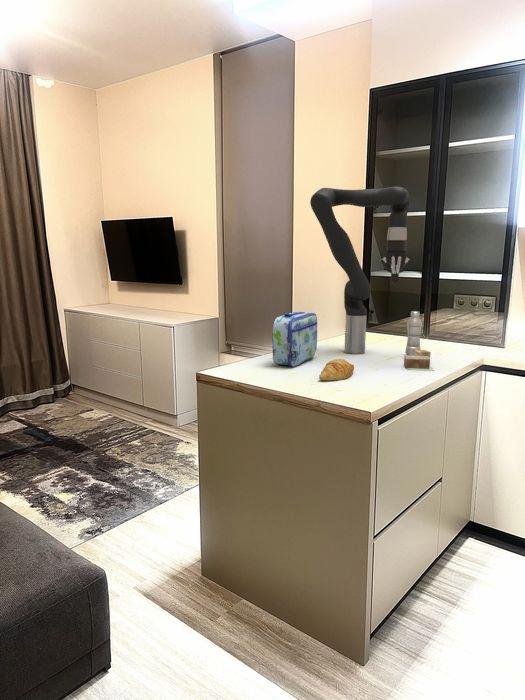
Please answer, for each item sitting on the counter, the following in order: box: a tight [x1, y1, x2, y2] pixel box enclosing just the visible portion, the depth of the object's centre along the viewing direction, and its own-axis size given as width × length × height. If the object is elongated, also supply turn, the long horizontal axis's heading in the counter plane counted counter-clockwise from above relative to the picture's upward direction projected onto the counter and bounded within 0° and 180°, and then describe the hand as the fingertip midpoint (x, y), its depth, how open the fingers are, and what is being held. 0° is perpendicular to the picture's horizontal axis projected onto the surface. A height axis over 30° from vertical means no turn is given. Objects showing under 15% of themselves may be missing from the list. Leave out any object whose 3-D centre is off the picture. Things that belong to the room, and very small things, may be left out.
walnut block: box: [403, 354, 431, 369], centre depth 208 cm, size 4×6×9 cm
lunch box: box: [271, 311, 318, 368], centre depth 215 cm, size 26×11×21 cm, turn 150°
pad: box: [406, 364, 435, 372], centre depth 208 cm, size 10×10×1 cm
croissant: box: [318, 358, 355, 381], centre depth 192 cm, size 21×10×8 cm, turn 140°
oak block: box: [414, 349, 432, 359], centre depth 217 cm, size 5×5×5 cm
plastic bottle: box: [405, 310, 423, 356], centre depth 228 cm, size 6×7×20 cm
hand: (394, 282), depth 211 cm, fingers closed
